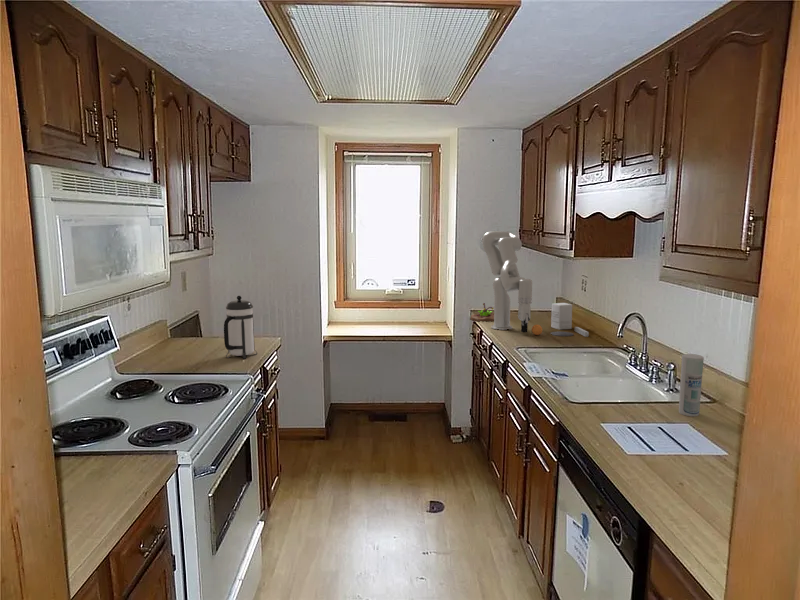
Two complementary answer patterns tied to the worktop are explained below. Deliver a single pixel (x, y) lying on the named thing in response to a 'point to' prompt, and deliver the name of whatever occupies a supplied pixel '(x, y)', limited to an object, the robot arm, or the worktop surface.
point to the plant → (483, 315)
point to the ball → (536, 329)
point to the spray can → (690, 384)
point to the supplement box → (561, 316)
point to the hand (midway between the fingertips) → (524, 332)
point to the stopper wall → (581, 331)
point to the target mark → (562, 333)
